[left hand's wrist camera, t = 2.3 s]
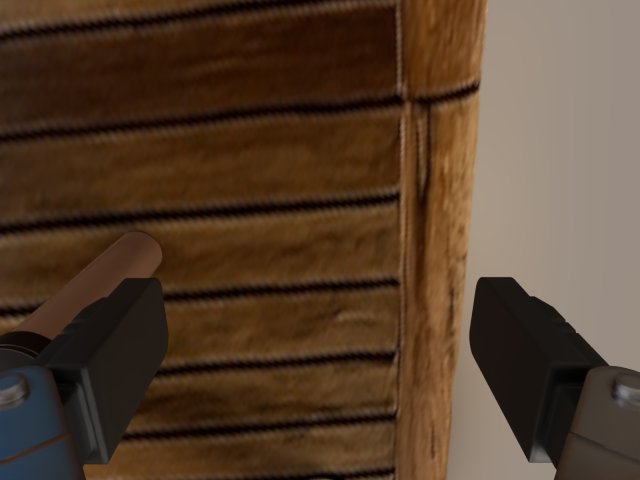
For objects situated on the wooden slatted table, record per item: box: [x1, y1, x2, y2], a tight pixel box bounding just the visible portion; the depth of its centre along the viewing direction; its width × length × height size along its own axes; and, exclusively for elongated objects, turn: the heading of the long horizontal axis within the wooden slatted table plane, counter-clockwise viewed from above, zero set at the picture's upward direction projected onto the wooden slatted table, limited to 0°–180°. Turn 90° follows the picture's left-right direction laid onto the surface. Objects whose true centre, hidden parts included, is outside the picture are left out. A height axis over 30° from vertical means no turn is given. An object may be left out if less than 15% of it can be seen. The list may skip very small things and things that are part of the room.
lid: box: [0, 331, 52, 372], centre depth 26 cm, size 5×5×2 cm
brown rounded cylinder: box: [11, 231, 162, 340], centre depth 34 cm, size 4×4×18 cm
